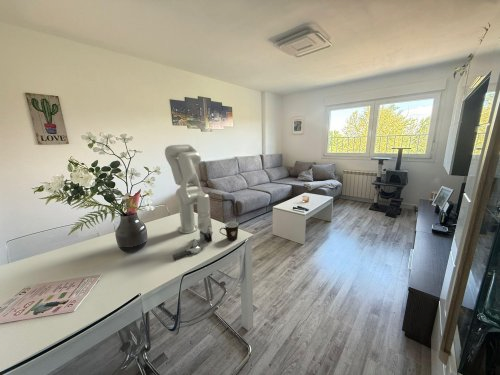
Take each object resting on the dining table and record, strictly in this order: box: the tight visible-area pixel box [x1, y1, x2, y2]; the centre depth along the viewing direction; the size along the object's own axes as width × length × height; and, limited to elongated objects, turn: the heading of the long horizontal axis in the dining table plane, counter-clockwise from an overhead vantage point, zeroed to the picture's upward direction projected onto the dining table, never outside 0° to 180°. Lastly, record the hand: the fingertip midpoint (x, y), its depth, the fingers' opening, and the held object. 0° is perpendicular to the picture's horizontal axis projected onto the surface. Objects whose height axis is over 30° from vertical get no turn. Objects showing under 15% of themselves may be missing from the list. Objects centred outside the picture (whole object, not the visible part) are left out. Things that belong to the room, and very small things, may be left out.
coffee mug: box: [219, 221, 239, 242], centre depth 132 cm, size 12×9×10 cm
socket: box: [199, 231, 210, 245], centre depth 130 cm, size 5×5×6 cm
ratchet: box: [172, 238, 202, 262], centre depth 116 cm, size 7×16×7 cm, turn 132°
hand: (206, 239), depth 130 cm, fingers open, 7 cm apart
